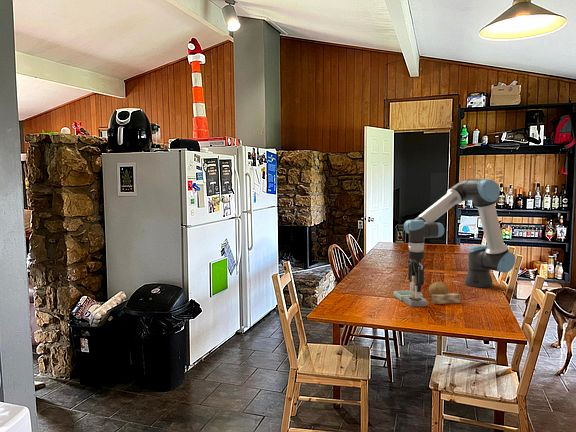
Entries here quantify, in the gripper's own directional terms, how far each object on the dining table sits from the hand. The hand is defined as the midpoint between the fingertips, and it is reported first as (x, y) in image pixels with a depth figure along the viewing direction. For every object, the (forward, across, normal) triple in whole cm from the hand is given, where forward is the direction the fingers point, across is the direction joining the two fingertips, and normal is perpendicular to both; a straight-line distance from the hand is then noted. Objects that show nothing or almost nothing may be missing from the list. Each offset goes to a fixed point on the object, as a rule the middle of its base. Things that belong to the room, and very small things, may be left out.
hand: (415, 296), depth 229 cm
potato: (+4, -6, +16) cm, 18 cm away
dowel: (+4, 0, 0) cm, 4 cm away
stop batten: (+4, +1, +16) cm, 16 cm away
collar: (+4, 0, 0) cm, 4 cm away
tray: (+4, -11, +1) cm, 12 cm away
